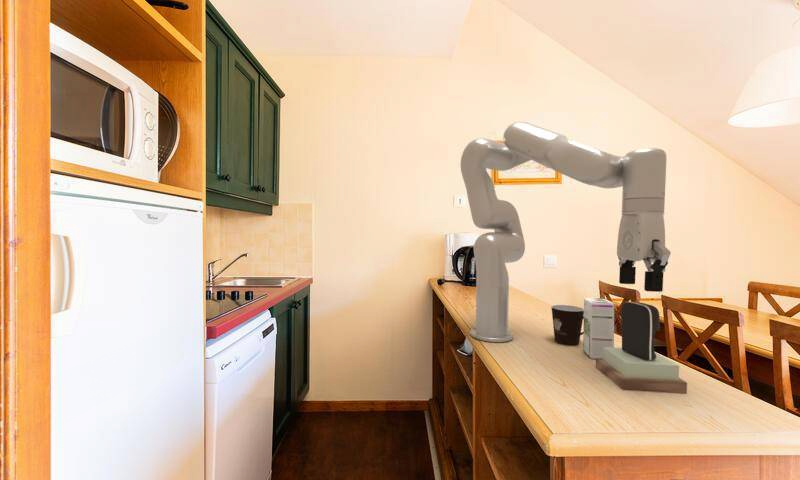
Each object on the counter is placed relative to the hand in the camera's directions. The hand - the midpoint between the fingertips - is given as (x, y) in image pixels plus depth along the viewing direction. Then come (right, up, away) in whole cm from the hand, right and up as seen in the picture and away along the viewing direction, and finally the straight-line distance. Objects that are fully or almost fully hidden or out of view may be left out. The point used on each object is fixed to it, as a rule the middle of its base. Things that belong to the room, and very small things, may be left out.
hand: (639, 287), depth 75 cm
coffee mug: (-4, -20, +24) cm, 31 cm away
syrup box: (-1, -20, +15) cm, 25 cm away
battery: (+1, -15, 0) cm, 15 cm away
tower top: (0, -18, 0) cm, 18 cm away
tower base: (0, -21, +1) cm, 21 cm away
